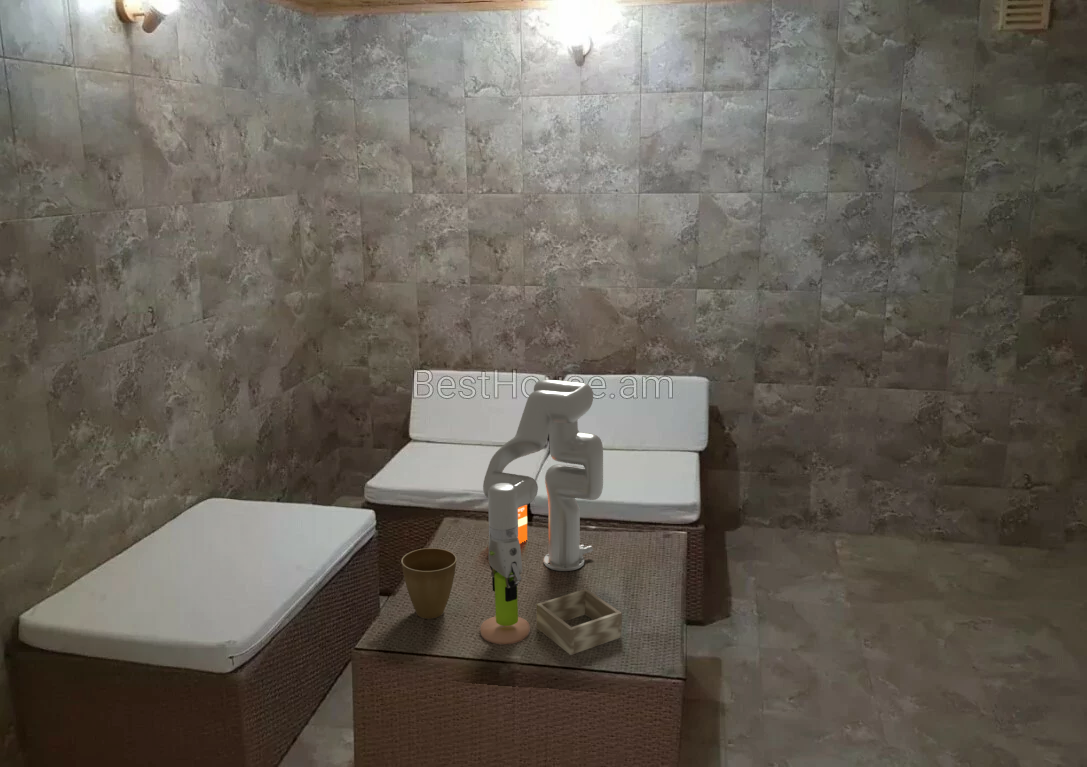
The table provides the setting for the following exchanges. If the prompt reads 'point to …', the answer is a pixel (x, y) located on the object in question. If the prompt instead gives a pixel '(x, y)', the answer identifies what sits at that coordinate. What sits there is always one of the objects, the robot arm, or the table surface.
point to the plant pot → (429, 579)
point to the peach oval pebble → (504, 631)
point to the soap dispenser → (504, 602)
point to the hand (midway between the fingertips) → (504, 594)
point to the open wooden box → (583, 635)
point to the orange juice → (522, 523)
